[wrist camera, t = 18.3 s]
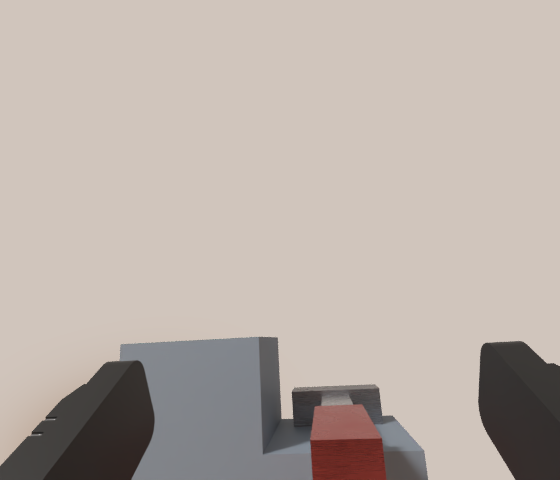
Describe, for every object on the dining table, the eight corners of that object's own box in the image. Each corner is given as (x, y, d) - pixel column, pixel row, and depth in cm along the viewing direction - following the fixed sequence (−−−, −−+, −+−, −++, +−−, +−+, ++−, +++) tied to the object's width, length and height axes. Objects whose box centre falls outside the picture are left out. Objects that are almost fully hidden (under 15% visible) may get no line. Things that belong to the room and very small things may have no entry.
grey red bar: (449, 521, 16) (437, 436, 16) (260, 522, 16) (258, 441, 17) (378, 417, 36) (374, 382, 37) (296, 420, 37) (294, 385, 38)
